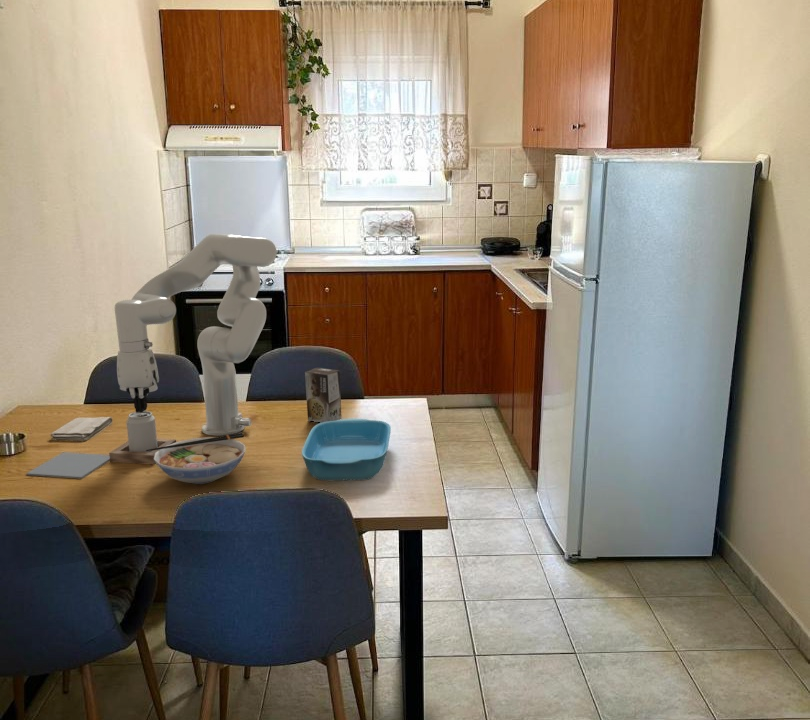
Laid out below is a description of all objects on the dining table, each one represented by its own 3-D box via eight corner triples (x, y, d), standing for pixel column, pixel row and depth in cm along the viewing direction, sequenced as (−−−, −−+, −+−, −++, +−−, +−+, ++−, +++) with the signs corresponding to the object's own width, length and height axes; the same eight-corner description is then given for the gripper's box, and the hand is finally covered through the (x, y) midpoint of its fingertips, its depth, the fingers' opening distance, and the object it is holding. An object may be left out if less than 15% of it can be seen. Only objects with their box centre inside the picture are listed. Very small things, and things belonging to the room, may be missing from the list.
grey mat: (115, 457, 221) (115, 455, 221) (81, 478, 206) (81, 477, 205) (63, 453, 224) (63, 452, 224) (26, 475, 209) (26, 473, 209)
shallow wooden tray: (176, 447, 227) (175, 439, 227) (154, 464, 215) (153, 455, 214) (134, 445, 230) (134, 437, 229) (110, 461, 217) (109, 452, 217)
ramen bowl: (157, 504, 189) (154, 471, 187) (146, 471, 210) (143, 442, 208) (261, 486, 199) (259, 455, 197) (241, 457, 219) (239, 428, 217)
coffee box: (342, 420, 250) (340, 370, 246) (329, 425, 245) (327, 374, 241) (319, 415, 255) (317, 366, 251) (306, 421, 249) (304, 371, 246)
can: (153, 459, 219) (149, 417, 216) (125, 459, 219) (121, 417, 216) (161, 450, 226) (158, 409, 223) (135, 450, 226) (131, 409, 223)
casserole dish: (316, 439, 233) (315, 416, 231) (392, 439, 232) (392, 415, 231) (296, 489, 197) (295, 462, 195) (387, 489, 197) (386, 462, 195)
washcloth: (49, 442, 235) (47, 432, 234) (76, 423, 252) (75, 414, 252) (88, 442, 234) (87, 432, 233) (113, 423, 252) (112, 414, 251)
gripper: (166, 343, 217) (172, 407, 222) (116, 342, 220) (123, 405, 225) (152, 349, 210) (159, 416, 215) (101, 348, 213) (109, 414, 218)
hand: (141, 410), depth 220 cm, fingers closed
